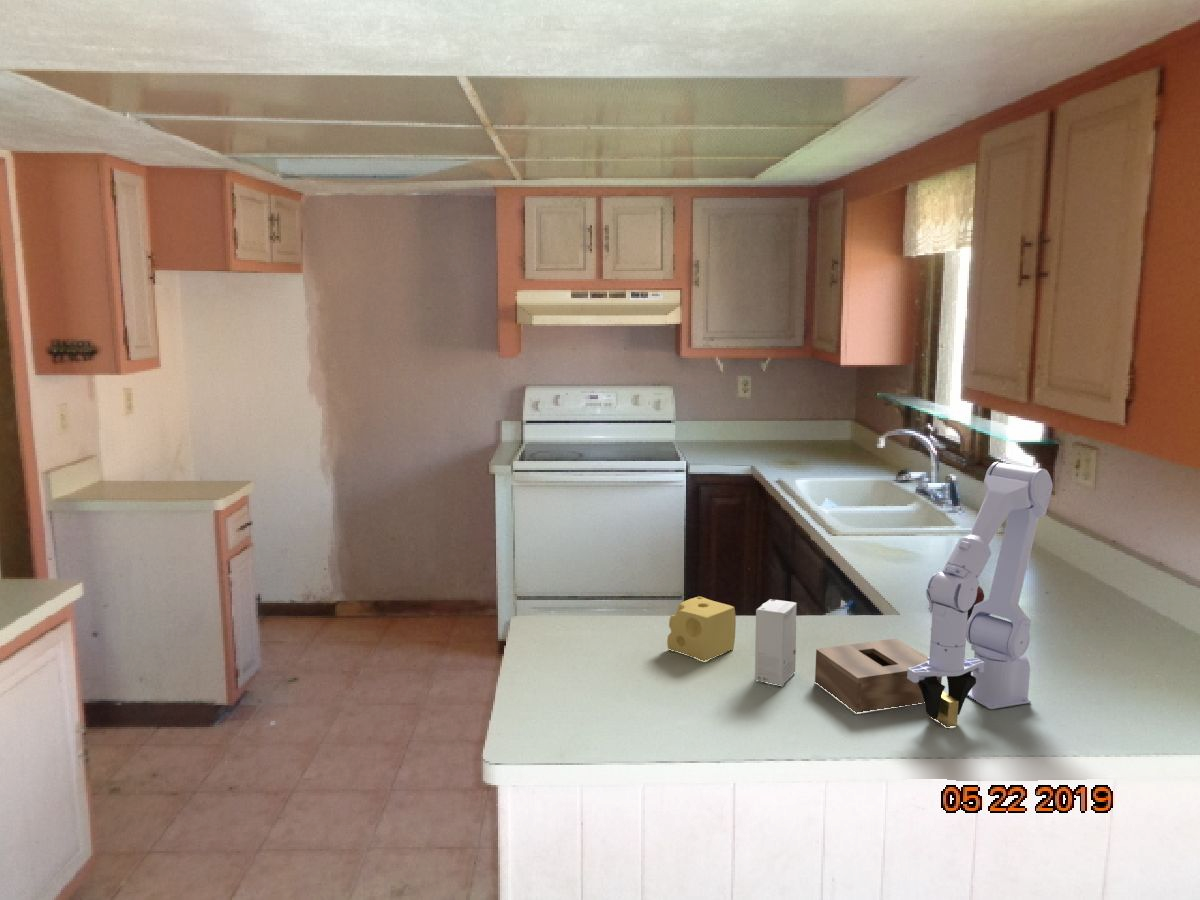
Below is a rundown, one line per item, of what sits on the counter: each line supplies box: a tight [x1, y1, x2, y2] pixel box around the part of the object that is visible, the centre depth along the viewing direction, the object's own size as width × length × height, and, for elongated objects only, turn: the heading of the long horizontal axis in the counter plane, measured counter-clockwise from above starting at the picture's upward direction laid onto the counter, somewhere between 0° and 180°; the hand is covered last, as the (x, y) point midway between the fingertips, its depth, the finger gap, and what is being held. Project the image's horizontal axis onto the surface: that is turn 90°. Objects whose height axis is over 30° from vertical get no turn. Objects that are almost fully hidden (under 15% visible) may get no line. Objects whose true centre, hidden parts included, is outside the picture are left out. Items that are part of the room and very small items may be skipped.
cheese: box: [667, 595, 737, 661], centre depth 191 cm, size 10×11×10 cm
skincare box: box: [754, 598, 798, 687], centre depth 177 cm, size 8×6×15 cm
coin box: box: [814, 638, 943, 713], centre depth 171 cm, size 18×14×7 cm
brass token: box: [936, 690, 959, 727], centre depth 159 cm, size 2×5×5 cm, turn 18°
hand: (942, 714), depth 159 cm, fingers open, 4 cm apart
